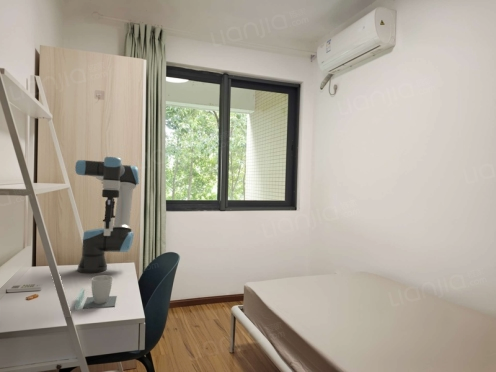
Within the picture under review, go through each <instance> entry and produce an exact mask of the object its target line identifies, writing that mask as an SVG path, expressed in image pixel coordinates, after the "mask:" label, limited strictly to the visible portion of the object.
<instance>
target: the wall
mask: <svg viewBox="0 0 496 372" xmlns="http://www.w3.org/2000/svg"><path fill="white" fill-rule="evenodd" d="M84 299H85V288H81V289H80V292H79V293H78V295H77V298H76V299H75V307H74V309H75V311H79V309H80V306H81V304H82V302H83V300H84Z"/></svg>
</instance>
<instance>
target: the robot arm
mask: <svg viewBox="0 0 496 372" xmlns="http://www.w3.org/2000/svg"><path fill="white" fill-rule="evenodd" d="M74 167H75V169H74V170H75V174H76V175H78V176H86V177H88V176H90V177H94V178H96V179H97V180H99V181H101V184H102V192H101V197H102V198H107V199H106V201H105V206H104V208H105V211H104V218H103V219H102V222H103V223H104V224H103V228H93V229H88V230H85V231H84V232H83V235H82V248H81V252H82V253H81V258H80V261H79V263H78V266H77V272H79V273H83V274H96V273H97V274H98V273H102V272H106V271H107V269H108V264H107V259H106V257H105V253H107V252H108V253H110V252H111V253H112V252H113V253H115V252H116V253H123V252H124V253H125V252H129V251H130V250H131V248H132V246H133V241H134V234H135V233H134V231H132V228H131V227H130V223H131V222H130V221H131V214H132V213H131V211H132V204H133V193H134V189H136V188H137V185H139V184H140V176H139V169H138V167H137V165H129V164H128V165H127V164H122V158H120V157H115V156H106V157H104V160H103V161H99V160H98V161H97V160H85V159H84V160H83V159H78V160H77V161H76V163H75V166H74ZM115 199H116V202H115ZM115 204H116V206H115ZM114 209H115V210H114ZM114 213H115V214H114Z"/></svg>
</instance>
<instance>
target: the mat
mask: <svg viewBox="0 0 496 372" xmlns="http://www.w3.org/2000/svg"><path fill="white" fill-rule="evenodd" d="M117 296H118V295H109V298H108V300H107V302H105V303H101V304H97V303H94V299H93V296H90V297H89V296H88V297H86V299H85V301H84V303H83V306H82V309H83V310H84V309H85V310H86V309H99V308H100V309H102V308H103V309H104V308H115V307H116V301H117Z"/></svg>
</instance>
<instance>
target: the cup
mask: <svg viewBox="0 0 496 372" xmlns="http://www.w3.org/2000/svg"><path fill="white" fill-rule="evenodd" d="M112 285H113V276H111V275H104V274H103V275H96V276H93V277H92V278H91V295H92V297H93V299H94V303H97V304H101V303H105V302H107V300H108V298H109V296H111V289H112Z"/></svg>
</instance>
